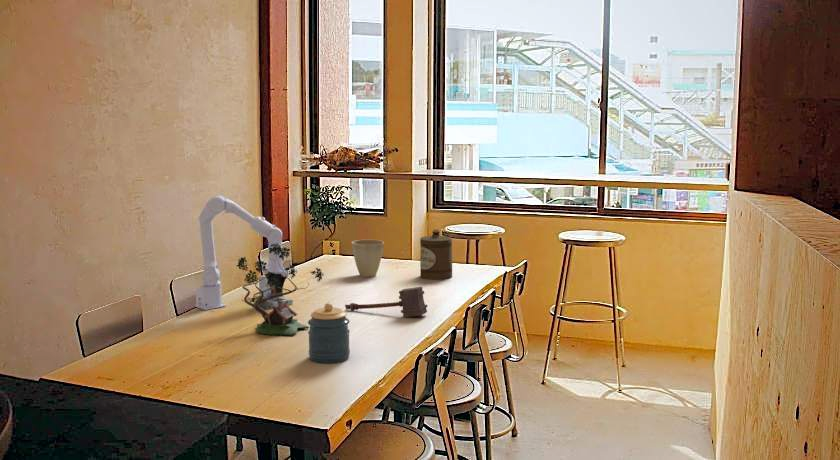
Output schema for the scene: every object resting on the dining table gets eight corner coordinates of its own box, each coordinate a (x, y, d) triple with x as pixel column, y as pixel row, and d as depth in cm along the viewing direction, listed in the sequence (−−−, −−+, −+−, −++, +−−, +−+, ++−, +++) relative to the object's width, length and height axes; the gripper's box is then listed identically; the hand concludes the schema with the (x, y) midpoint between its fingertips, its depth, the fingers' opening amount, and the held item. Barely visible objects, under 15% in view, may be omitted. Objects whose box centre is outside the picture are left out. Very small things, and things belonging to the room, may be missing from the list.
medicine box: (266, 297, 354) (265, 277, 353) (259, 296, 357) (258, 275, 355) (280, 294, 360) (279, 274, 359) (273, 292, 363) (272, 272, 362)
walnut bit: (275, 297, 339) (275, 283, 338) (270, 296, 341) (270, 281, 340) (282, 296, 341) (282, 281, 340) (278, 295, 343) (277, 280, 343)
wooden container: (415, 275, 400) (415, 228, 397) (443, 272, 406) (443, 226, 403) (428, 281, 387) (428, 233, 384) (457, 278, 393) (458, 230, 390)
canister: (329, 349, 279) (328, 296, 276) (358, 356, 271) (357, 302, 268) (300, 358, 269) (298, 303, 266) (329, 366, 261) (328, 310, 258)
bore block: (273, 308, 335) (273, 303, 335) (260, 304, 342) (260, 299, 341) (292, 304, 341) (292, 299, 341) (279, 300, 348) (279, 296, 347)
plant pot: (347, 277, 394) (346, 243, 391) (358, 271, 408) (358, 238, 405) (377, 279, 389) (377, 245, 387) (388, 273, 403) (388, 240, 401)
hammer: (422, 315, 317) (417, 289, 317) (344, 324, 330) (340, 299, 329) (428, 311, 324) (424, 285, 323) (352, 320, 336) (347, 296, 335)
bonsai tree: (221, 337, 293) (218, 246, 289) (259, 320, 316) (256, 236, 311) (312, 347, 281) (310, 252, 276) (344, 329, 304) (343, 241, 299)
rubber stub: (261, 310, 332) (261, 300, 331) (256, 308, 334) (256, 298, 334) (269, 308, 334) (268, 299, 334) (264, 307, 337) (264, 297, 336)
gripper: (294, 259, 336) (295, 293, 338) (273, 254, 347) (274, 287, 349) (279, 261, 331) (280, 295, 333) (258, 256, 342) (259, 289, 344)
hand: (276, 291), depth 341 cm, fingers closed on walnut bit, 3 cm apart
